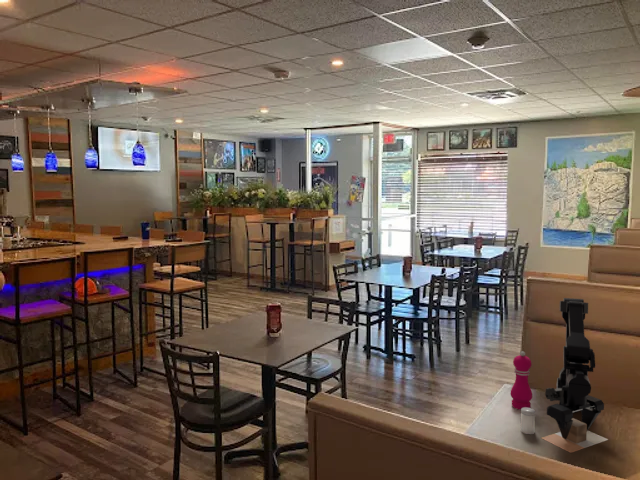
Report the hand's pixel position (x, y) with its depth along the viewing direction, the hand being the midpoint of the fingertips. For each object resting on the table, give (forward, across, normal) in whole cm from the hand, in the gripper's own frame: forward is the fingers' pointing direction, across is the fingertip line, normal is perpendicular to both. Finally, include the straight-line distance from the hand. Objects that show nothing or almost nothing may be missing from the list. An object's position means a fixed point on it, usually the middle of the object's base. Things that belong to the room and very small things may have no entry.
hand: (574, 435), depth 150 cm
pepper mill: (+2, -7, -26) cm, 27 cm away
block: (+1, 0, 0) cm, 1 cm away
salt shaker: (+2, +8, -10) cm, 13 cm away
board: (+2, 0, 0) cm, 2 cm away
